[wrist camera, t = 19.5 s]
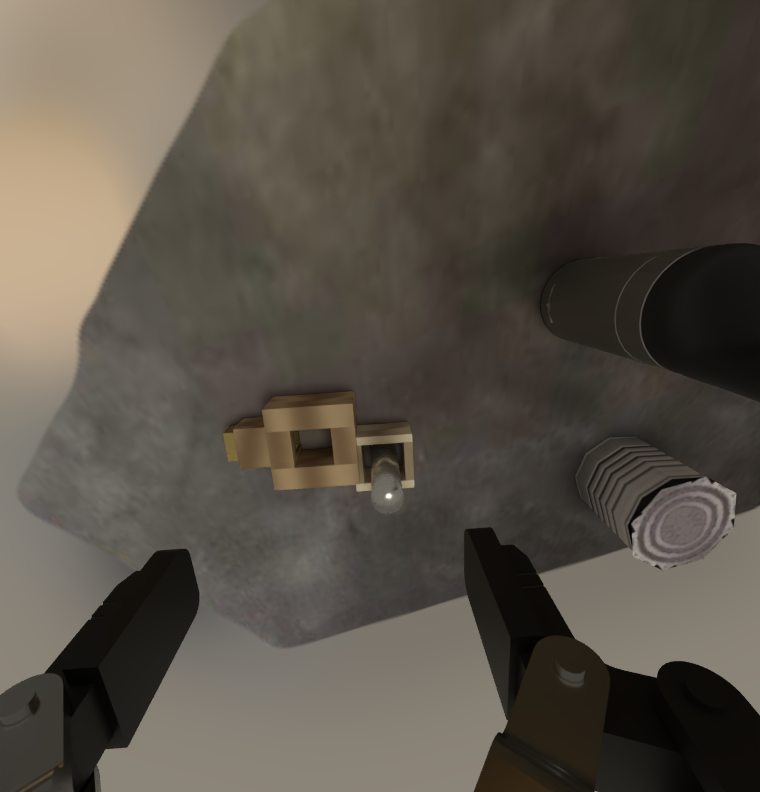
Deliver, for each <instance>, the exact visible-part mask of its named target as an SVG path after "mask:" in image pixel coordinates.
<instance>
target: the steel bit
mask: <svg viewBox="0 0 760 792" xmlns="http://www.w3.org/2000/svg"><path fill="white" fill-rule="evenodd" d="M371 492H372V505H373V507H374V508H375V509H376V510H377V511H379V512H380V513H384V514H391V513H394V512H396V511H398V510H399V509H400V508H401V507H402V505H403V502H404V496H403V489H402V483H401V477H400V471H399V464H398V458H397V452H396V446H395V443H388V444H374V445H372V446H371Z"/></svg>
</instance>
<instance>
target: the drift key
mask: <svg viewBox="0 0 760 792" xmlns="http://www.w3.org/2000/svg"><path fill="white" fill-rule="evenodd" d="M236 426H237V425H231V426H230V427H229V428H228V429H227V430H226V431H225V432H224V433H223V436H224V441H225V446H226V451H227V456H228V461H239V459H238V454H237V449H236V443H235V438H234V433H233V429H234V428H235V427H236ZM294 436H295V444H296V449H297V448H298V446H299V443H300V440H299V433H298V430H296V431H294Z"/></svg>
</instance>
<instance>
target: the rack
mask: <svg viewBox="0 0 760 792" xmlns="http://www.w3.org/2000/svg"><path fill="white" fill-rule="evenodd" d="M356 442H357V453H358V464H359V476H360V484H358V485H356V489H357V491H371V468H365V465H364V453H363V445H374V444H388V443H402V457H403V465H401V466H399V471H400V477H401V483H402V488H413V487H414V468H413V444H412V432H411V428H410V425H409V422H399V423H384V424H370V425H357V434H356Z"/></svg>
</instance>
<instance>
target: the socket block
mask: <svg viewBox="0 0 760 792" xmlns="http://www.w3.org/2000/svg"><path fill="white" fill-rule="evenodd" d="M262 415H263V417H254V418H243V419H242V420H241V421H240V422H239V423H238V425H237V426H236V427H235V428H234V429H233V433H234V438H235V443H236V449H237V454H238V459H239V465H240V469H245V468H259V467H271V471H272V477H273V483H274V489H275V490H287V489H301V488H315V487H329V486H343V485H358V484H360V476H359V464H358V453H357V442H356V434H357V418H356V406H355V395H354V391H349V392H334V393H320V394H305V395H291V396H276V397H272V398H271V399H270V401H269V402H268V403H267V404H266V405H265V407H264V408H263V409H262ZM325 428H331V437H332V446H333V448H321V449H307V450H302V446H301V444H299V446H298V448H297V449H296V444H295V436H294V431H296V430H310V429H325Z"/></svg>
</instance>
